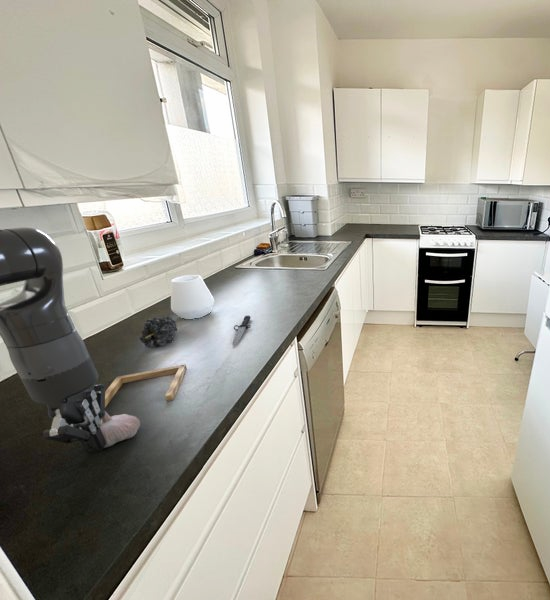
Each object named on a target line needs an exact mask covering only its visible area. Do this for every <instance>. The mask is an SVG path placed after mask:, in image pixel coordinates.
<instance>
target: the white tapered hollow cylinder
mask: <svg viewBox="0 0 550 600" xmlns="http://www.w3.org/2000/svg"><path fill="white" fill-rule="evenodd" d="M214 306H215V298H214V296H213V295H212V293H211V291H210V289H209V288H208V286H207V285H206V283H205V280H204V279H203V277H202V276H201V275H199V274H187V275H186V274H185V275H180V276H177V277H174V278H173V279H171V281H170V310H171V311H172V313H174V314H175V315H177V316H178V317H179V318H181V319H182V318H185V319H190V318H198V317H201V316H204V315H206V314H208V313H210V312H211V313H212V310H213V309H214ZM211 313H210V314H211Z"/></svg>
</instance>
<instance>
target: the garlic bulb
mask: <svg viewBox="0 0 550 600" xmlns="http://www.w3.org/2000/svg"><path fill="white" fill-rule="evenodd" d="M100 420H101V427H100V429H101V431H102V433H103V435H104V438H105V440H106V442H107V443H106V445H105V447H104V448H103V449H105V448H109V447H112V446H114V445H115V444H117V443H120V442H122V441H125V440H129V439H131V438H134V436H136V435H137V433H138V430H139V429H140V427H141V421H140V420H139V418H138V417H136V416H135V415H131V414H128V413H122V414H115V415H112V416H110V415H109V413H108V412H107V411H106V410H105V416H104V417H103V418H100Z"/></svg>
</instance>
